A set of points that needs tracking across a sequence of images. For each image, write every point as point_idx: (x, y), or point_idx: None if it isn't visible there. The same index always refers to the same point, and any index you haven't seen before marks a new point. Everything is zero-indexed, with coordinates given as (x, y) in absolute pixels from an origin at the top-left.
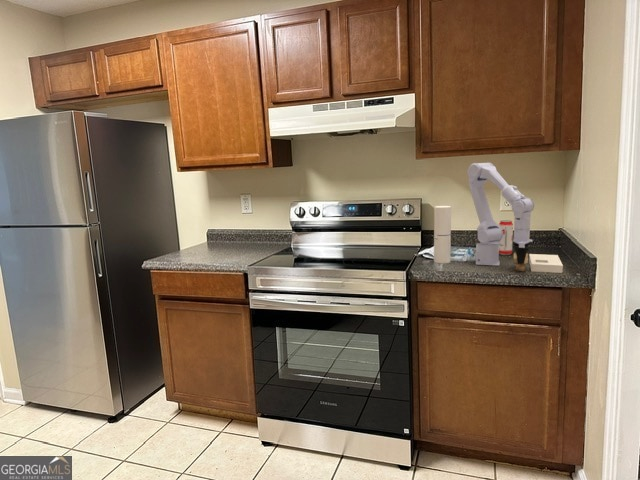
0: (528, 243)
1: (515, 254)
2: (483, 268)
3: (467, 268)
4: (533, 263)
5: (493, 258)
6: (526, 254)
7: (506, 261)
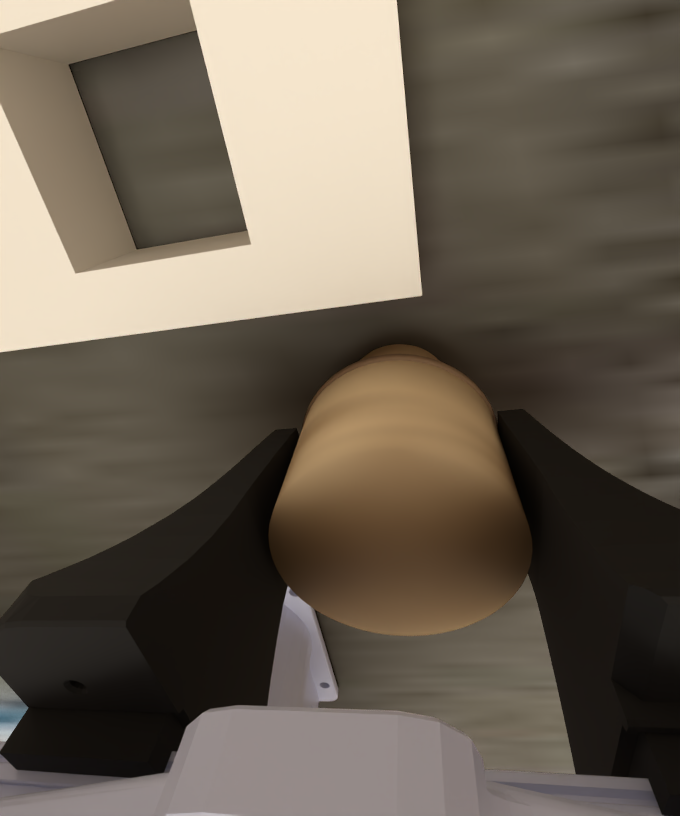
0: (88, 627)
1: (480, 609)
2: (442, 650)
3: (481, 722)
4: (371, 270)
5: (281, 666)
6: (475, 467)
7: (74, 526)
